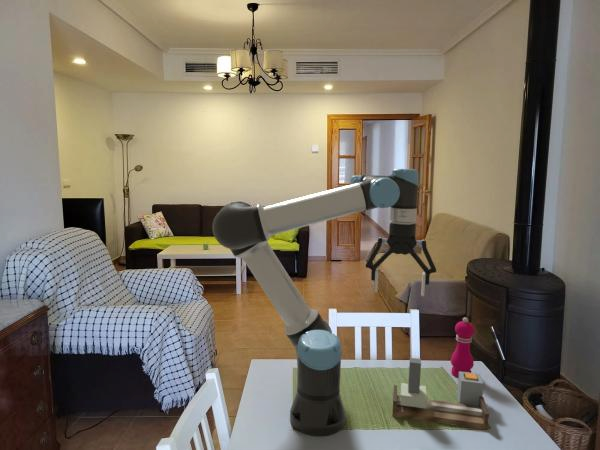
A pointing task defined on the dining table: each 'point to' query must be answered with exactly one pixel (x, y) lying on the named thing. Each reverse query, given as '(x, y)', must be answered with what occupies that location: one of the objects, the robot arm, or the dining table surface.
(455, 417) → the rail board
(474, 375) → the button
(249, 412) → the dining table surface
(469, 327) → the pepper mill
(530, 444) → the dining table surface
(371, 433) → the dining table surface
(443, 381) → the dining table surface
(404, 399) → the carriage
